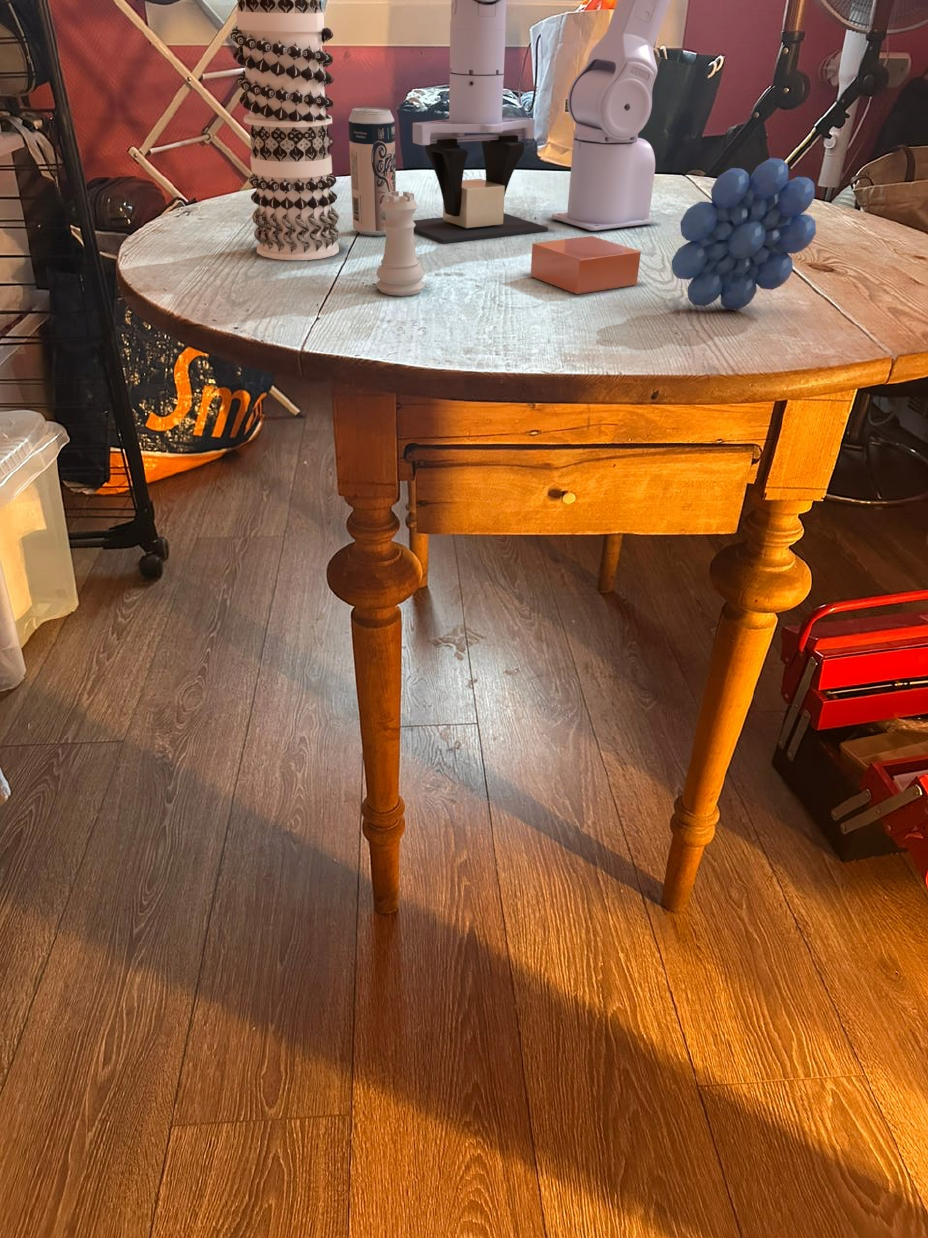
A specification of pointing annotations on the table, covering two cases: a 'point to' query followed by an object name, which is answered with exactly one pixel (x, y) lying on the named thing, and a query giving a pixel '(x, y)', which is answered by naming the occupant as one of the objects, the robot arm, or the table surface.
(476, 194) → the beige cube
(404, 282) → the rook chess piece
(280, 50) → the decorative candle
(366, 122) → the beer can
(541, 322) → the table surface
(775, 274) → the blue beaded flower
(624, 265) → the glossy orange square block
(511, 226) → the rubber mat
